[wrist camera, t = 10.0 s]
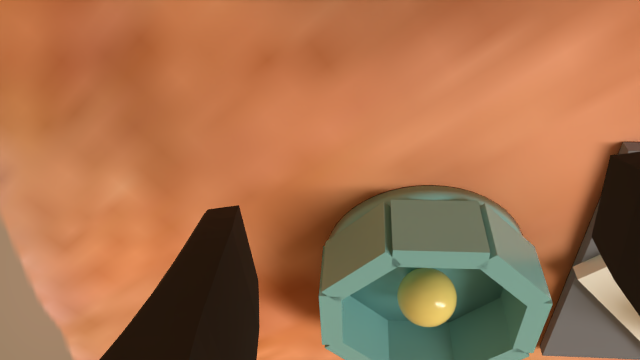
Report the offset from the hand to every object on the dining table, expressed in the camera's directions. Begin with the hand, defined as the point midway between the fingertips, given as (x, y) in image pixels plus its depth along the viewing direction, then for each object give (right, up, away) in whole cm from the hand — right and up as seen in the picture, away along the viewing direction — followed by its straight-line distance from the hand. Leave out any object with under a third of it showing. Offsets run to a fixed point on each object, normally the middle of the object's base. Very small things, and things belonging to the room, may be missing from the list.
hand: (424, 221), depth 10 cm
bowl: (+3, -3, +17) cm, 17 cm away
